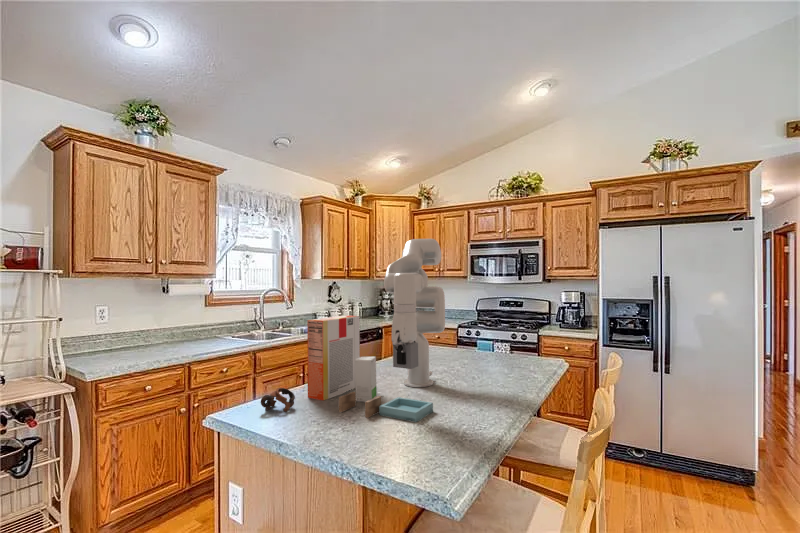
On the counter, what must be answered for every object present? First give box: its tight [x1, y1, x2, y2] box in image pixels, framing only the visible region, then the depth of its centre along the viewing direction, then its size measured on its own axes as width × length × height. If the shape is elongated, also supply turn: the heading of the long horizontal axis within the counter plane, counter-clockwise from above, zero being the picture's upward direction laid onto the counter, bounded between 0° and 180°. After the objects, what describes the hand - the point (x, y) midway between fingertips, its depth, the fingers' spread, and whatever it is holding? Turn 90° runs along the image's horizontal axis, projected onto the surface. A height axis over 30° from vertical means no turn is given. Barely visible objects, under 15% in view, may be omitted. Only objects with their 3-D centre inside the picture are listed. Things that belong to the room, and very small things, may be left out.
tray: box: [379, 396, 434, 423], centre depth 137 cm, size 12×14×3 cm
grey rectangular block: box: [392, 340, 418, 370], centre depth 138 cm, size 5×7×9 cm
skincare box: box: [355, 356, 378, 403], centre depth 155 cm, size 8×7×16 cm
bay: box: [338, 391, 383, 419], centre depth 140 cm, size 8×12×5 cm, turn 59°
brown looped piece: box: [260, 387, 296, 412], centre depth 142 cm, size 12×10×8 cm
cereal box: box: [306, 314, 361, 401], centre depth 165 cm, size 23×8×30 cm, turn 149°
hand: (405, 362), depth 138 cm, fingers closed on grey rectangular block, 5 cm apart
